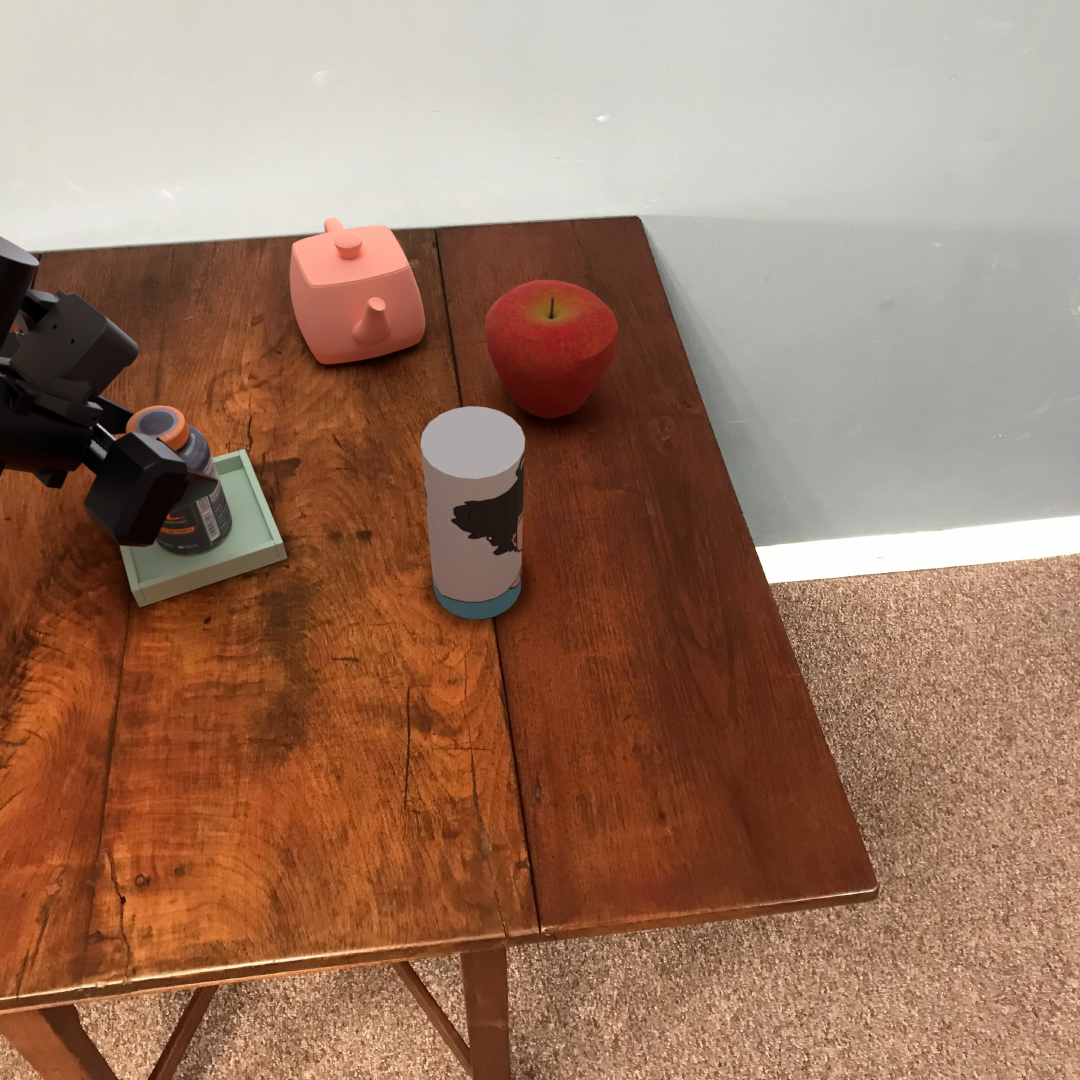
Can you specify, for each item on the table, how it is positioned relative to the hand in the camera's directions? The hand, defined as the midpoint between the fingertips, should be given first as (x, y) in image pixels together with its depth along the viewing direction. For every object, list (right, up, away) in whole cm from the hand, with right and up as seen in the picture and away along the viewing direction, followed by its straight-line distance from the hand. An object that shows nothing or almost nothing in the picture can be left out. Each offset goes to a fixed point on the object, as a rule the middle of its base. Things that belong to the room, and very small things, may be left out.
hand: (177, 454), depth 68 cm
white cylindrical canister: (+22, -10, +4) cm, 24 cm away
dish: (-1, -6, +6) cm, 8 cm away
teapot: (+9, +13, +23) cm, 28 cm away
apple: (+27, +6, +17) cm, 33 cm away
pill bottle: (-1, -5, +6) cm, 8 cm away
